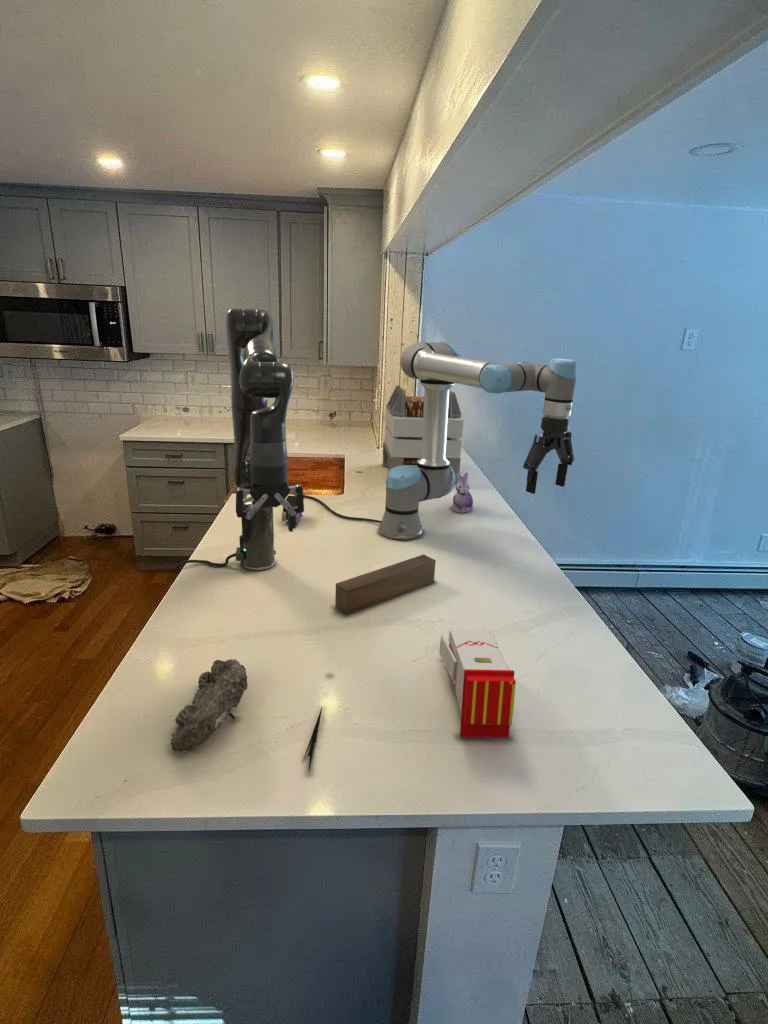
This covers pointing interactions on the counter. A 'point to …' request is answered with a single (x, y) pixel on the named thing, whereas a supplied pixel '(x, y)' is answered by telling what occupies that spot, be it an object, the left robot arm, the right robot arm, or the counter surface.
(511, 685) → the toy
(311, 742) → the feather
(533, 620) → the counter surface
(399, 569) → the walnut beam
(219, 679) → the fossil
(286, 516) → the figurine character
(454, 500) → the figurine
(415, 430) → the grey slatted crate
